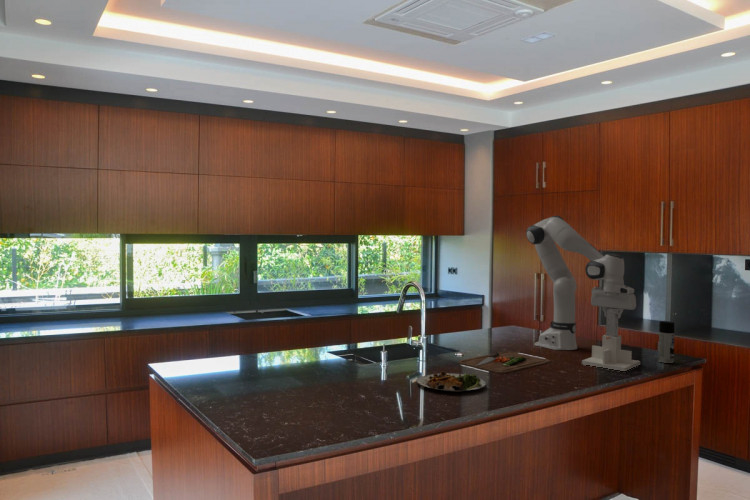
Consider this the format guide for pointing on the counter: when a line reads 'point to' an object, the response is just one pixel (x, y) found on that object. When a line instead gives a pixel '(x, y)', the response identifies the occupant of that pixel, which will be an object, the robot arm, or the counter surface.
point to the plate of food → (452, 381)
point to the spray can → (666, 342)
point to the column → (612, 323)
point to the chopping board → (503, 362)
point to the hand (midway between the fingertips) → (612, 317)
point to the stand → (611, 355)
